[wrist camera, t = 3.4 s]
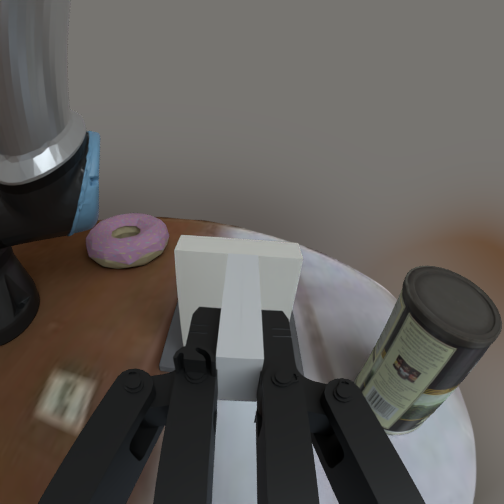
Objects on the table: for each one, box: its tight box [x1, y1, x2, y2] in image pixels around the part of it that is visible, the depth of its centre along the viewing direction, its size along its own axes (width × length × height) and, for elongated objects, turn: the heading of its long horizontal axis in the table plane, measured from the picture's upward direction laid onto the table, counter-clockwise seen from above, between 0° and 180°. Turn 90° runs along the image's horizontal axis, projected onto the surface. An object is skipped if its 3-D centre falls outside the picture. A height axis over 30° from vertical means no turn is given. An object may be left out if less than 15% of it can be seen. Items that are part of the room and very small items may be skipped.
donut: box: [86, 213, 169, 269], centre depth 46 cm, size 16×15×5 cm
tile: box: [174, 235, 303, 347], centre depth 26 cm, size 10×3×13 cm, turn 91°
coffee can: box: [354, 266, 502, 435], centre depth 21 cm, size 10×10×14 cm
